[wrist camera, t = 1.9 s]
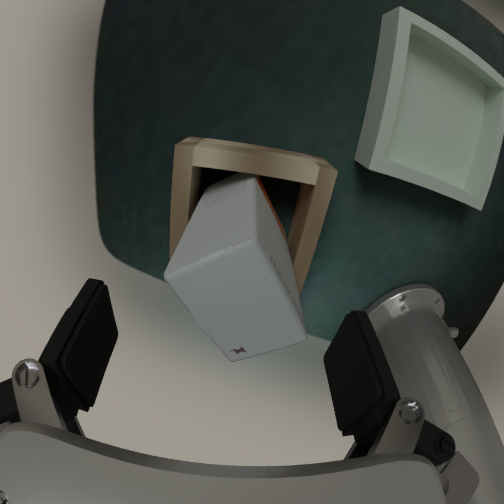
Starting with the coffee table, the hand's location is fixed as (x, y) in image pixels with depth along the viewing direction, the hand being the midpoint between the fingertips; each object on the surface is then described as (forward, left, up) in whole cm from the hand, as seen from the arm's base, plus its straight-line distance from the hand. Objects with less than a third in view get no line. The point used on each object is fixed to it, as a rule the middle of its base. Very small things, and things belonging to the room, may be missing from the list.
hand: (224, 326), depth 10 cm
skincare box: (-1, 0, -13) cm, 13 cm away
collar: (-1, 0, -13) cm, 13 cm away
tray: (-15, -12, -13) cm, 23 cm away
